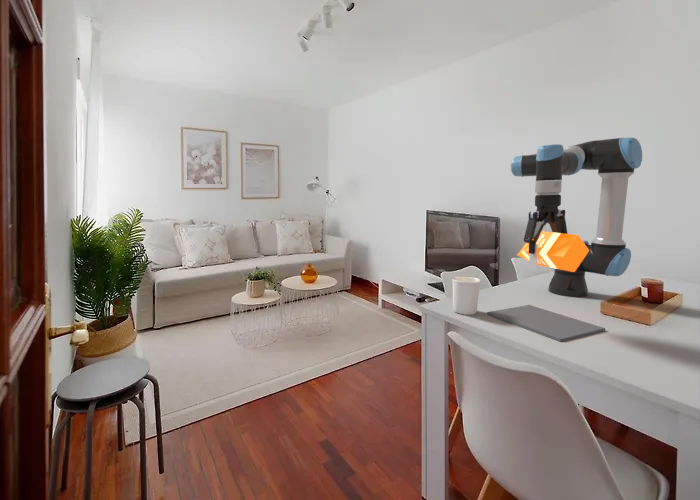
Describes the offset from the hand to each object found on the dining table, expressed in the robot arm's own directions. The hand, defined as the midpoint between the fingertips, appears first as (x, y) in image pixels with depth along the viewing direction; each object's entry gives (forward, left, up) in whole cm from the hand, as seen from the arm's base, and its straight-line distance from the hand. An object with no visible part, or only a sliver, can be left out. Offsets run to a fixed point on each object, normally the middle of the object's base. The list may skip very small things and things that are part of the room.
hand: (545, 261), depth 126 cm
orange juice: (+1, +11, +4) cm, 12 cm away
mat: (0, +1, -21) cm, 21 cm away
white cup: (+16, -19, -21) cm, 32 cm away
